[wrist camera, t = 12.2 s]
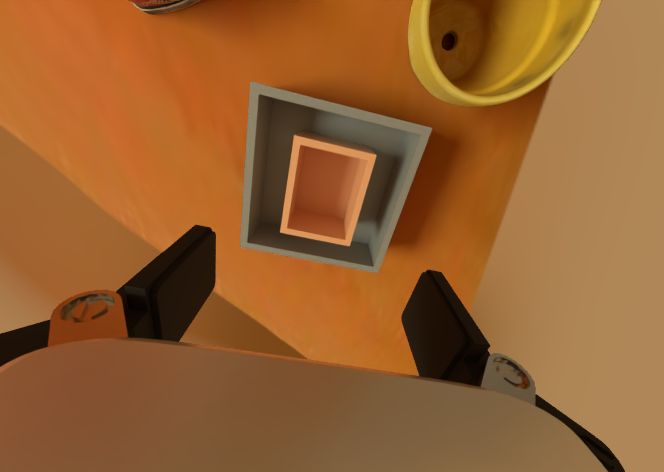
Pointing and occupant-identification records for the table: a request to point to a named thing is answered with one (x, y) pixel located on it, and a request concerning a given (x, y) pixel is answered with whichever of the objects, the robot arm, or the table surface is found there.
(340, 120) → the grey crate
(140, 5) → the lighter
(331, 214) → the terracotta crate
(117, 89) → the table surface
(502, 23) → the plant pot
